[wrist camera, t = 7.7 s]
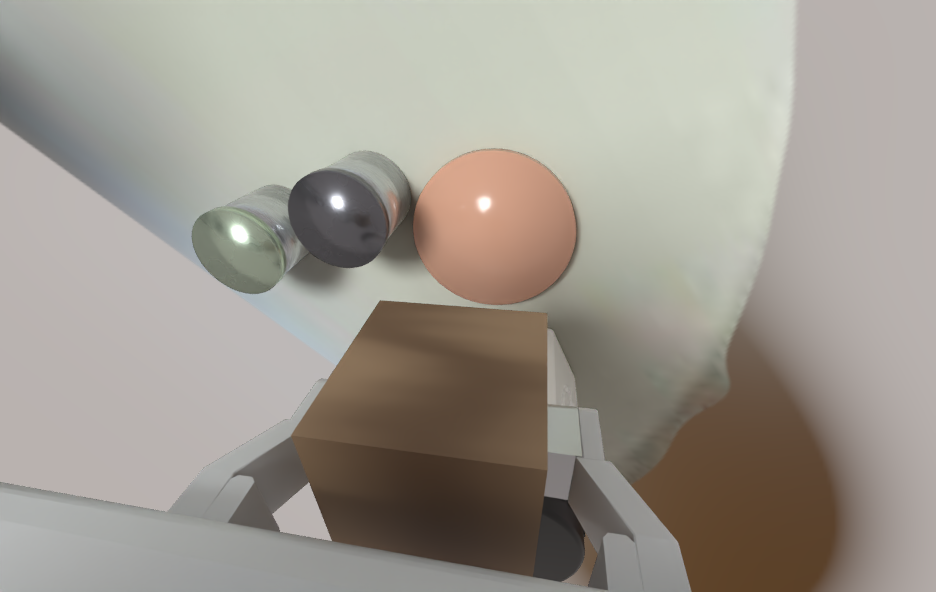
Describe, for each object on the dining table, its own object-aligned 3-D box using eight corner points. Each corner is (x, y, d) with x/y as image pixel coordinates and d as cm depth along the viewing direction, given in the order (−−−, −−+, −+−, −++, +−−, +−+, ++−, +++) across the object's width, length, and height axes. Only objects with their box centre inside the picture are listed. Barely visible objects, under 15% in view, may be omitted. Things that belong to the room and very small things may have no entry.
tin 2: (340, 230, 24) (302, 265, 20) (323, 148, 22) (275, 170, 18) (416, 233, 23) (391, 270, 20) (407, 149, 21) (377, 172, 17)
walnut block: (398, 414, 15) (339, 560, 10) (380, 300, 12) (290, 435, 8) (535, 430, 14) (530, 595, 10) (547, 313, 11) (548, 470, 7)
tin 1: (261, 254, 26) (212, 291, 22) (236, 182, 23) (176, 208, 20) (329, 258, 25) (290, 296, 21) (311, 184, 23) (264, 212, 19)
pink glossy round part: (423, 292, 26) (420, 299, 25) (409, 147, 21) (404, 150, 20) (565, 302, 24) (566, 309, 24) (585, 149, 19) (587, 153, 19)
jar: (588, 398, 28) (613, 593, 18) (485, 419, 31) (457, 597, 21) (543, 299, 24) (543, 476, 14) (431, 333, 27) (366, 500, 17)
